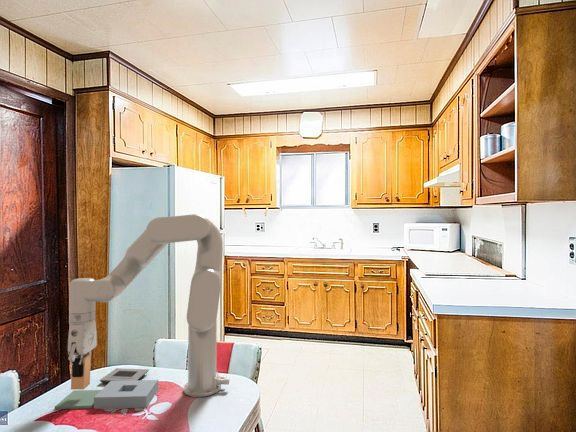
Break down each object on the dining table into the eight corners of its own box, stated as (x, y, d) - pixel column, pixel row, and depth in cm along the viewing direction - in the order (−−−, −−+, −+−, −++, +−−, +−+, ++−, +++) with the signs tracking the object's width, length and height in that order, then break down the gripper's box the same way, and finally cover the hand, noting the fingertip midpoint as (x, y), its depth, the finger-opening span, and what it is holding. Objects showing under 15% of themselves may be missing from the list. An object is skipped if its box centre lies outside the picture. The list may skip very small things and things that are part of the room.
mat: (106, 392, 126) (106, 389, 126) (91, 408, 115) (91, 405, 115) (73, 392, 125) (73, 390, 126) (54, 409, 114) (54, 406, 115)
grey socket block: (158, 390, 127) (158, 379, 127) (146, 407, 115) (146, 396, 115) (110, 391, 127) (110, 380, 127) (93, 408, 115) (93, 397, 115)
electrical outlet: (149, 374, 141) (149, 368, 141) (135, 387, 131) (134, 380, 131) (116, 373, 142) (116, 367, 142) (99, 385, 132) (99, 379, 132)
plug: (89, 384, 122) (91, 350, 123) (83, 389, 118) (84, 354, 119) (77, 384, 122) (78, 350, 122) (70, 389, 118) (72, 354, 118)
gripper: (81, 323, 113) (80, 384, 112) (105, 310, 129) (104, 363, 129) (55, 323, 112) (54, 385, 112) (83, 310, 129) (82, 364, 129)
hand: (81, 373), depth 120 cm, fingers closed on plug, 4 cm apart
